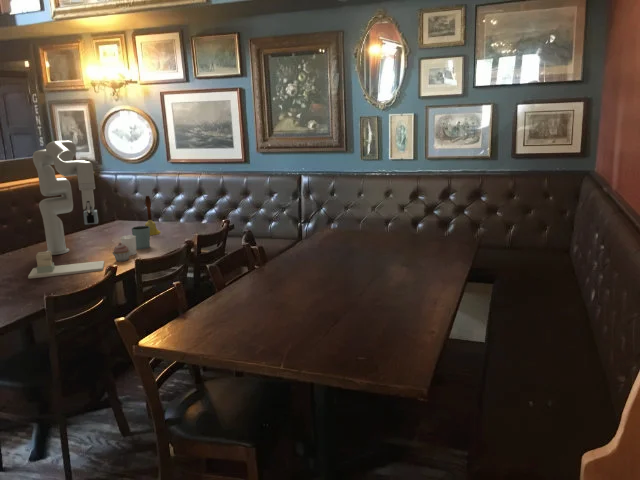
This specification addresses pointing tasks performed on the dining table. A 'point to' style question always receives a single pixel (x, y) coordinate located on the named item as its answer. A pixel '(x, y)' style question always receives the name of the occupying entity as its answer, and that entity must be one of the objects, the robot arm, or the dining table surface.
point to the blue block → (94, 217)
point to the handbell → (150, 223)
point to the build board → (66, 269)
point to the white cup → (130, 243)
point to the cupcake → (121, 252)
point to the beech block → (44, 259)
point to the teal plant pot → (142, 236)
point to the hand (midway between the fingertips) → (91, 221)
